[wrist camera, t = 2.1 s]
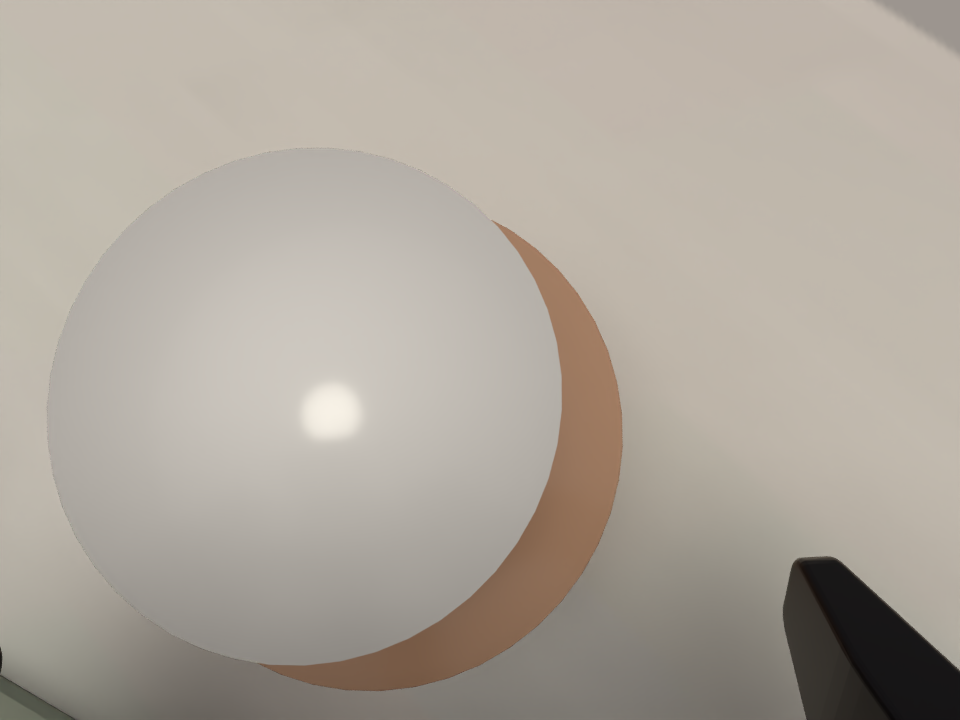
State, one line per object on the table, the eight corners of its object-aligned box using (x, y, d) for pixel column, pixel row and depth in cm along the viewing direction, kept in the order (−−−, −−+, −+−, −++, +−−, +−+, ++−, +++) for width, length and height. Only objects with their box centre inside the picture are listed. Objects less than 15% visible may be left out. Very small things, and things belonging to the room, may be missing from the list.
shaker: (504, 642, 18) (459, 941, 6) (283, 523, 19) (-191, 556, 6) (614, 413, 19) (789, 228, 6) (398, 308, 19) (175, -42, 7)
